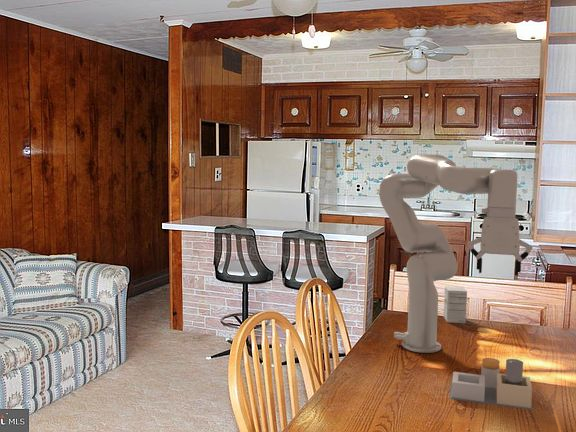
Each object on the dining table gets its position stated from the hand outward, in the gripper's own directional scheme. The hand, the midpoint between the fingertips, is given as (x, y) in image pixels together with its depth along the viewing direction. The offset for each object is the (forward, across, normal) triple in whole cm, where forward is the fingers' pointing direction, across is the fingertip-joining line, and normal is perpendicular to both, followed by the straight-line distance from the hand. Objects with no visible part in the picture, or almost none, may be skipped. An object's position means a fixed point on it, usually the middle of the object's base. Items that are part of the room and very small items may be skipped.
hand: (498, 273), depth 168 cm
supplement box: (+31, -13, +58) cm, 67 cm away
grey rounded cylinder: (+29, +4, -19) cm, 35 cm away
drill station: (+30, -1, -16) cm, 34 cm away
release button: (+28, -1, -10) cm, 30 cm away
